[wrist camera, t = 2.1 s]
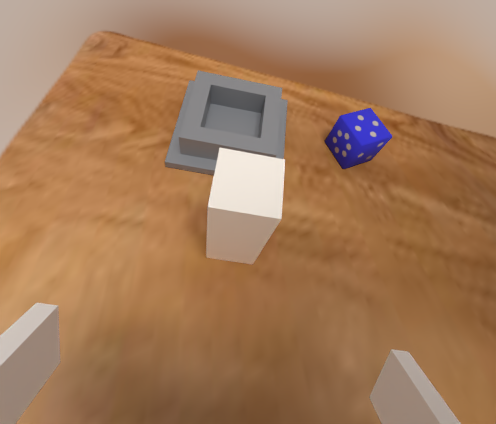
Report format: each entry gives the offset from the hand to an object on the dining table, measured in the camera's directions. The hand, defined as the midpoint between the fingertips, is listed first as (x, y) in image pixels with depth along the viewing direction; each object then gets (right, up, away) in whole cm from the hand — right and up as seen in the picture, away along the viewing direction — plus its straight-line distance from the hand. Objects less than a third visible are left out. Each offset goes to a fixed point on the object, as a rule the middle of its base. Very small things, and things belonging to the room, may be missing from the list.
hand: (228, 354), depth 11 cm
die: (+15, +14, +27) cm, 34 cm away
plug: (-1, +3, +19) cm, 19 cm away
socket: (-1, +16, +25) cm, 30 cm away
